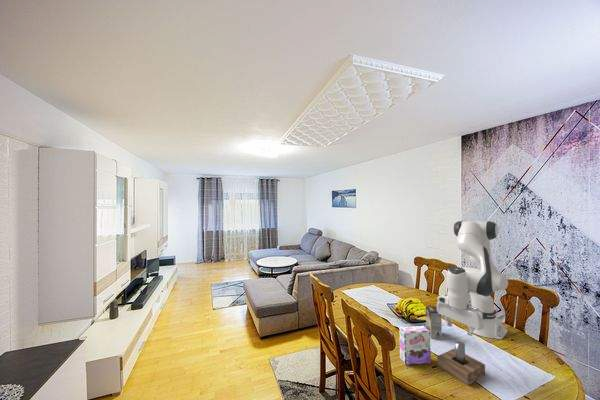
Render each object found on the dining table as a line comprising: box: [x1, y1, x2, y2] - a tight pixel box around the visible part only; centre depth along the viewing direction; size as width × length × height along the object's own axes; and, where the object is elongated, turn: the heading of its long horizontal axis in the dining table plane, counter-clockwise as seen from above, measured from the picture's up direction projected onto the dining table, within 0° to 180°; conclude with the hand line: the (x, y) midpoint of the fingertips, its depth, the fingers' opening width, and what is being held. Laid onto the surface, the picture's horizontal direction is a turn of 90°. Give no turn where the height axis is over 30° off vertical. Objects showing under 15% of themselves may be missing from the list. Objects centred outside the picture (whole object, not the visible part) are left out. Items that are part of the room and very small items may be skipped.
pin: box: [454, 340, 466, 365], centre depth 113 cm, size 4×4×12 cm
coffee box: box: [425, 305, 443, 340], centre depth 144 cm, size 9×6×16 cm
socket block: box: [436, 347, 486, 386], centre depth 113 cm, size 14×14×5 cm
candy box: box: [398, 325, 432, 366], centre depth 121 cm, size 14×6×16 cm, turn 94°
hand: (459, 330), depth 114 cm, fingers open, 8 cm apart
